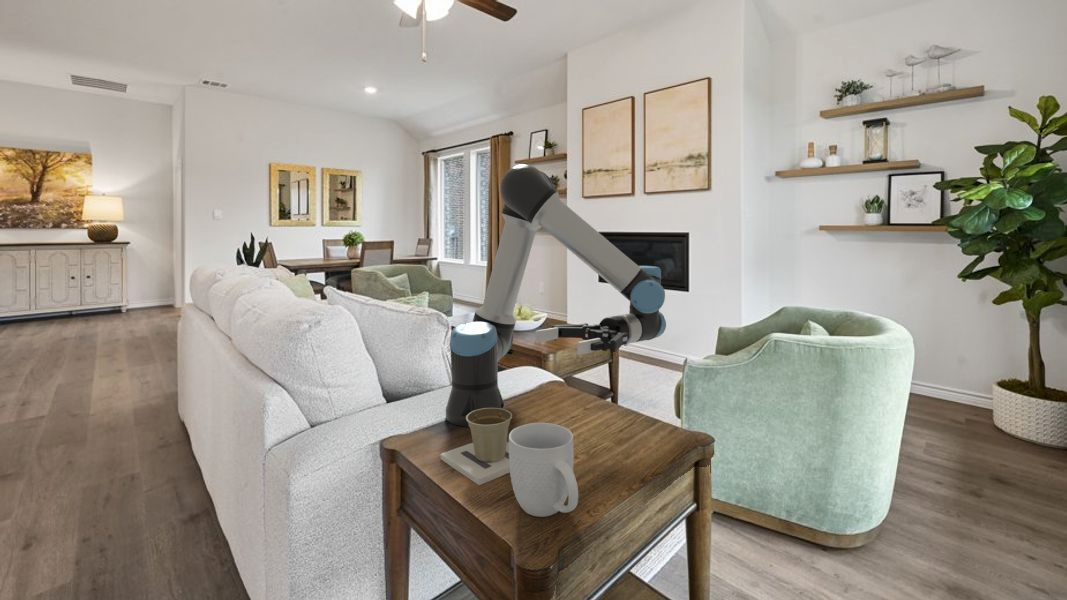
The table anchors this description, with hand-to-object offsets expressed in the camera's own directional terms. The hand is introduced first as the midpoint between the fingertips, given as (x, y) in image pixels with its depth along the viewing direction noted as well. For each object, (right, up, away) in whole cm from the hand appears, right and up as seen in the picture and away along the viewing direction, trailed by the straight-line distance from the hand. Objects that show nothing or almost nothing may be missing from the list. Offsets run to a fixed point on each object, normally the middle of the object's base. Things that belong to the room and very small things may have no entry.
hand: (556, 342), depth 108 cm
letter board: (-15, -24, -7) cm, 29 cm away
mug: (-3, -27, -24) cm, 36 cm away
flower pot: (-14, -23, -7) cm, 28 cm away
